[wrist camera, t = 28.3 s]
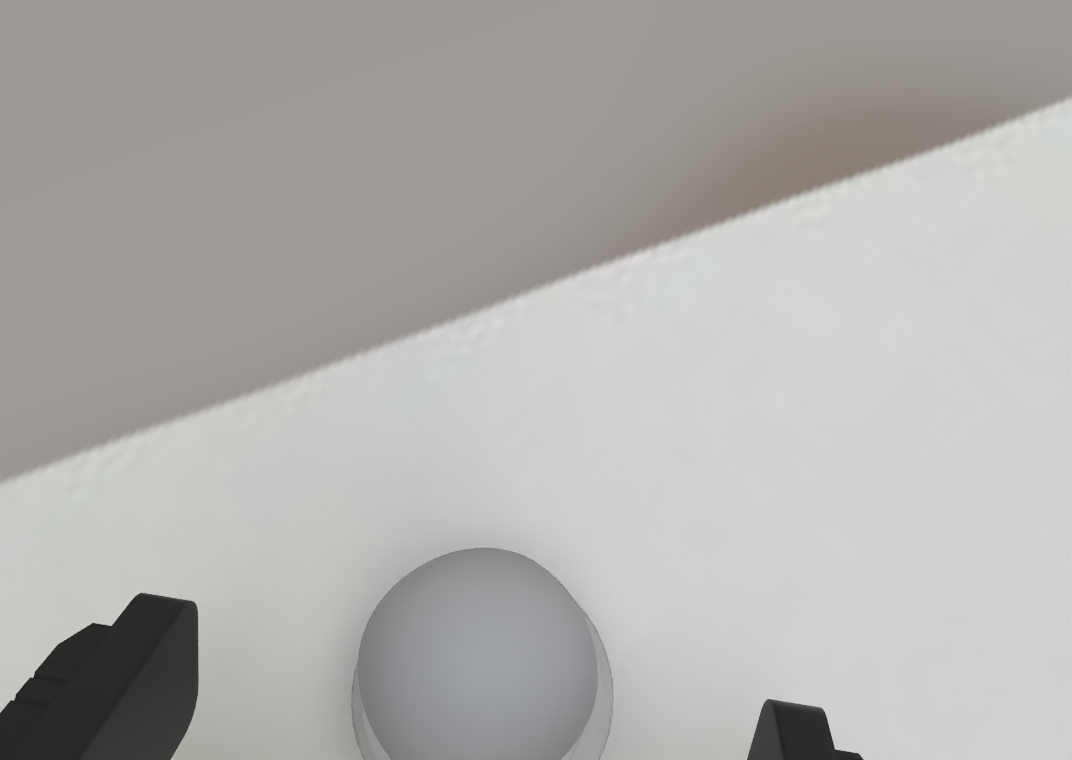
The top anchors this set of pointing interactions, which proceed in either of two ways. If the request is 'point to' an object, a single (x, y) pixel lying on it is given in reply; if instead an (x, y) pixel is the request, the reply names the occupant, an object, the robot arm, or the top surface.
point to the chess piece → (481, 666)
